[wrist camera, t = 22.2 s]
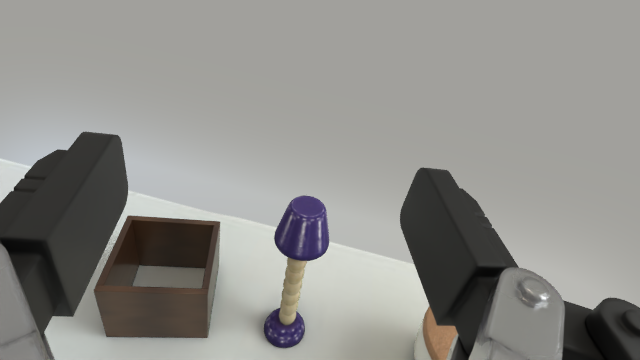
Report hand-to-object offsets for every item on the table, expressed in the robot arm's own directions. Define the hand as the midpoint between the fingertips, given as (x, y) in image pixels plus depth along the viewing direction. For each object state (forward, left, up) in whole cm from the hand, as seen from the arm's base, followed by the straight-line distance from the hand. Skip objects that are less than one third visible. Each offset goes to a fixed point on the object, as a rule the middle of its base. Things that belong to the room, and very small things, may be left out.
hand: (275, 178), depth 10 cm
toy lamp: (+4, +14, -30) cm, 33 cm away
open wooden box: (-8, +17, -30) cm, 35 cm away
